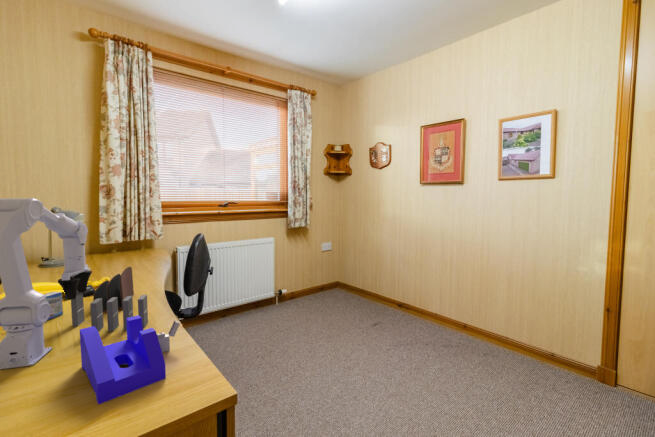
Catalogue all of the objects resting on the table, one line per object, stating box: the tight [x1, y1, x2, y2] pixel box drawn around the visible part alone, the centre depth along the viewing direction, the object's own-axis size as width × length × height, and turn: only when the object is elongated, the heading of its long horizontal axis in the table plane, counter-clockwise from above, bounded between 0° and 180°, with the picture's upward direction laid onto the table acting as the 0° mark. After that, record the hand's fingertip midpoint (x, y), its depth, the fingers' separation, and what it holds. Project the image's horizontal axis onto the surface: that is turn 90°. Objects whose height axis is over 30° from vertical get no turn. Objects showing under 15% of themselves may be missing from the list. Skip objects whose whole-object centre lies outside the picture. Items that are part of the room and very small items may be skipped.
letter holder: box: [92, 266, 135, 313], centre depth 129 cm, size 10×20×14 cm, turn 22°
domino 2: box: [89, 298, 104, 333], centre depth 104 cm, size 5×2×10 cm, turn 17°
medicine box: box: [42, 291, 64, 321], centre depth 114 cm, size 8×4×9 cm, turn 168°
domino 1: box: [70, 293, 85, 328], centre depth 109 cm, size 5×2×10 cm, turn 17°
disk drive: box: [64, 284, 96, 301], centre depth 142 cm, size 10×3×15 cm
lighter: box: [156, 320, 181, 353], centre depth 91 cm, size 7×2×8 cm, turn 126°
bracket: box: [79, 314, 167, 406], centre depth 80 cm, size 21×14×10 cm, turn 46°
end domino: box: [137, 294, 149, 329], centre depth 108 cm, size 5×2×10 cm, turn 17°
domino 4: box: [122, 296, 134, 331], centre depth 107 cm, size 5×2×10 cm, turn 17°
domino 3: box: [106, 297, 120, 333], centre depth 105 cm, size 5×2×10 cm, turn 17°
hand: (77, 295), depth 109 cm, fingers open, 7 cm apart
